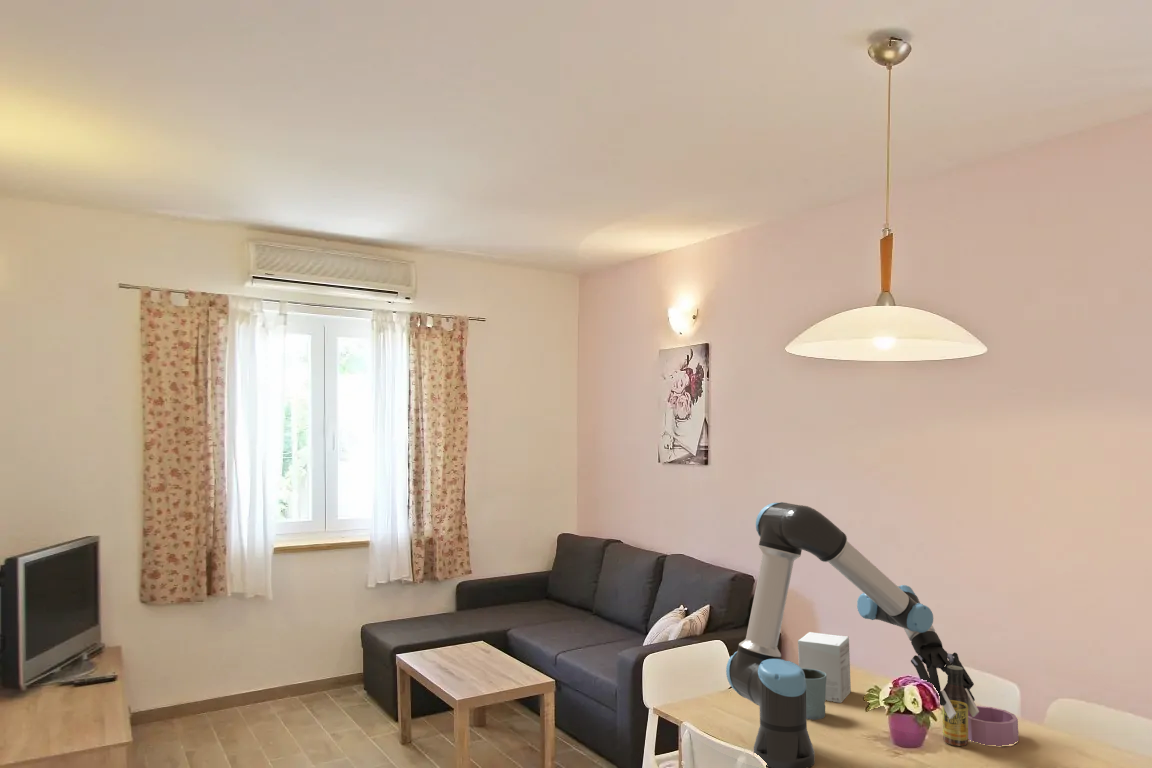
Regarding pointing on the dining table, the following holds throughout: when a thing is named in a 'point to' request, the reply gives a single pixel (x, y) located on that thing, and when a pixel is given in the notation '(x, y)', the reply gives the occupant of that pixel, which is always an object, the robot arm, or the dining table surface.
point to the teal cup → (815, 693)
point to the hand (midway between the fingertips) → (964, 715)
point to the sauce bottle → (956, 708)
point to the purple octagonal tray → (993, 727)
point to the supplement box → (828, 661)
